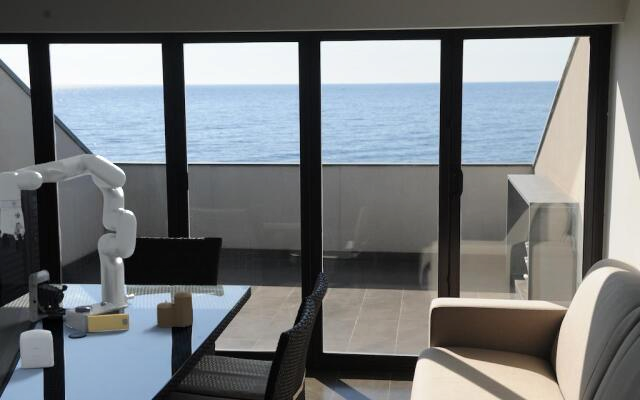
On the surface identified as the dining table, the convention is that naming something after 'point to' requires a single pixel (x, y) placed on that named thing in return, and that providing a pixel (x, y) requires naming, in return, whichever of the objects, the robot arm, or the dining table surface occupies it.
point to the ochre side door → (106, 322)
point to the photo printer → (36, 349)
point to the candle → (175, 311)
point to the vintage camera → (44, 297)
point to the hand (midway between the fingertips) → (12, 248)
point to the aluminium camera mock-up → (90, 313)
